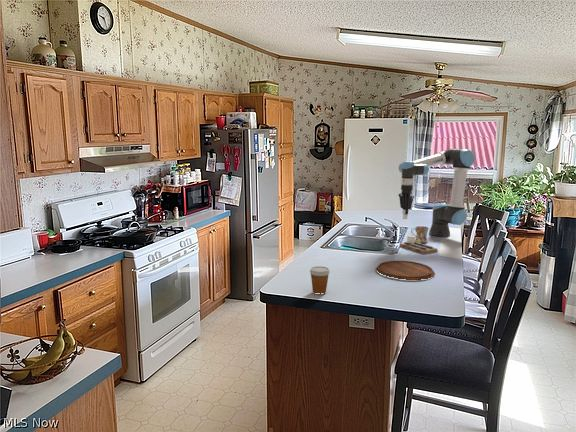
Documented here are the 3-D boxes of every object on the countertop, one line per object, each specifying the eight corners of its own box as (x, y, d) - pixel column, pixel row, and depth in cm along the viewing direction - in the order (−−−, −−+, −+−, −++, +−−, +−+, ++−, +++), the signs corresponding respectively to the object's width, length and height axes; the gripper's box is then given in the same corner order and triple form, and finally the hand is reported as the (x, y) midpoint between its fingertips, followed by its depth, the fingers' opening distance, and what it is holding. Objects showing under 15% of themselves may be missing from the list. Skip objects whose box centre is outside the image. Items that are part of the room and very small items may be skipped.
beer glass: (308, 289, 225) (308, 266, 223) (327, 289, 226) (327, 265, 223) (310, 296, 215) (311, 272, 213) (330, 295, 216) (331, 271, 214)
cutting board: (402, 285, 233) (402, 280, 232) (364, 268, 260) (364, 264, 260) (447, 276, 247) (448, 272, 247) (407, 261, 275) (407, 257, 274)
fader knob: (406, 243, 309) (407, 235, 308) (411, 242, 310) (411, 235, 309) (410, 244, 306) (410, 236, 305) (414, 243, 308) (414, 236, 307)
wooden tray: (399, 246, 309) (399, 241, 309) (412, 244, 315) (413, 239, 314) (423, 254, 290) (424, 249, 290) (437, 251, 296) (437, 247, 295)
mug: (429, 241, 323) (430, 227, 321) (426, 244, 315) (427, 229, 313) (412, 239, 329) (413, 225, 327) (408, 242, 321) (409, 227, 319)
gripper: (396, 183, 310) (394, 217, 315) (409, 185, 299) (407, 221, 303) (404, 183, 314) (402, 216, 318) (418, 185, 303) (416, 220, 307)
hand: (405, 218), depth 311 cm, fingers closed
